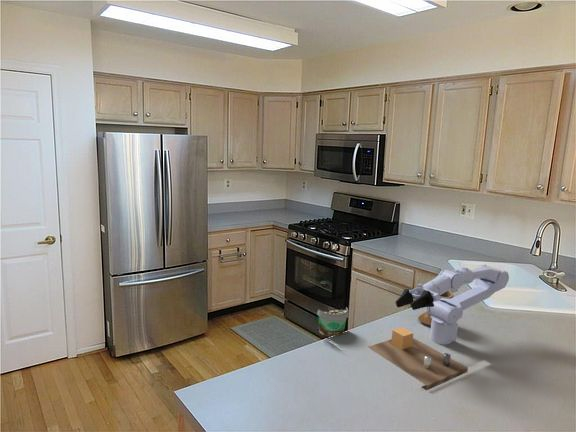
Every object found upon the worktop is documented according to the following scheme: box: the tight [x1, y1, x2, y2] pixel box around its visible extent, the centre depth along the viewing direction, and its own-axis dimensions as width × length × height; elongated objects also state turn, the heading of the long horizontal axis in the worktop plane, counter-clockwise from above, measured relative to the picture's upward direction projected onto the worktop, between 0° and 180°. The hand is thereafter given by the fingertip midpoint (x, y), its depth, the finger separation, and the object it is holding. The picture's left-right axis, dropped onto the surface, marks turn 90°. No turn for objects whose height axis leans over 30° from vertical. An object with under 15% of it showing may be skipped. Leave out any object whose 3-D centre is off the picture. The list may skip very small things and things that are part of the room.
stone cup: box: [417, 289, 454, 327], centre depth 159 cm, size 15×12×15 cm
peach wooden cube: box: [391, 326, 414, 350], centre depth 137 cm, size 5×5×5 cm
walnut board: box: [367, 337, 469, 391], centre depth 130 cm, size 20×25×2 cm
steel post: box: [423, 356, 431, 369], centre depth 123 cm, size 2×2×5 cm
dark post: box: [443, 353, 451, 367], centre depth 125 cm, size 2×2×5 cm
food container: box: [316, 306, 350, 340], centre depth 143 cm, size 12×6×10 cm, turn 105°
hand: (404, 305), depth 130 cm, fingers open, 7 cm apart
